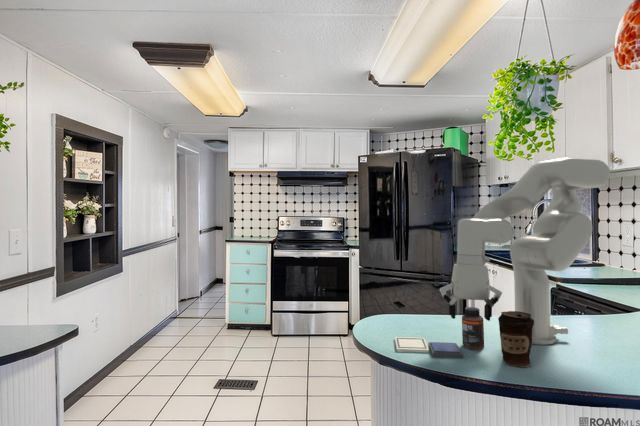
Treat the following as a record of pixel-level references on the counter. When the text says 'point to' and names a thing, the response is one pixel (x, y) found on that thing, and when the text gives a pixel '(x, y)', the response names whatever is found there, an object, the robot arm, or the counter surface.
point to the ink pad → (445, 350)
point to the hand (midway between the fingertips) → (469, 318)
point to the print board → (411, 344)
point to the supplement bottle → (472, 329)
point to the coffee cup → (516, 337)
